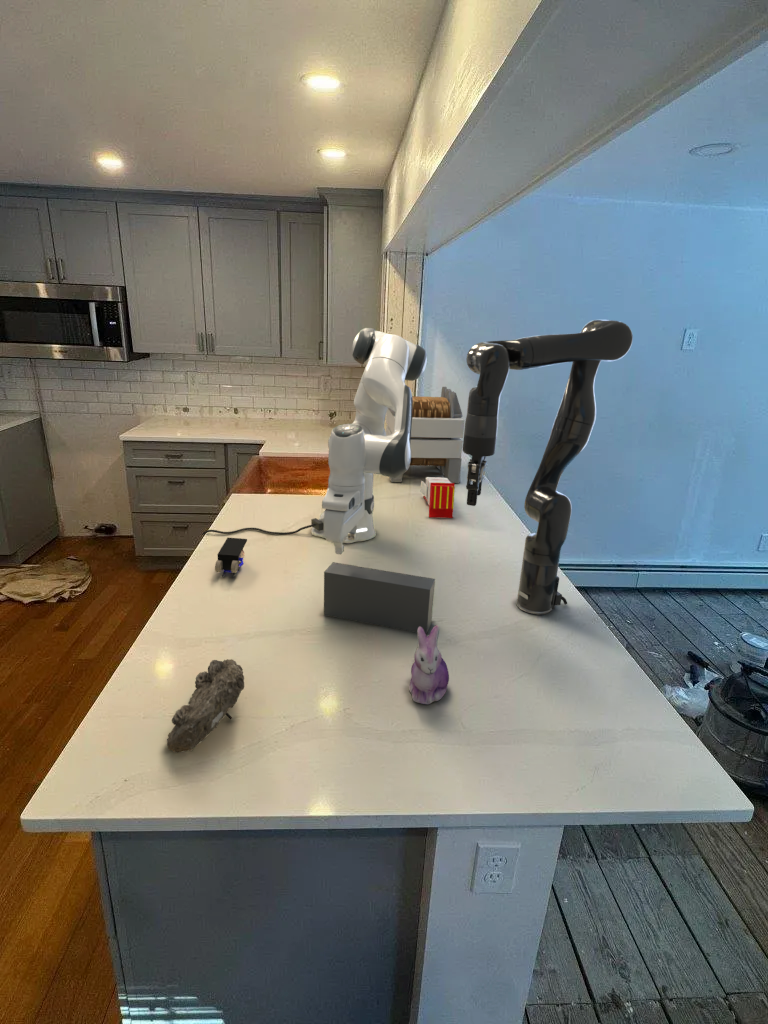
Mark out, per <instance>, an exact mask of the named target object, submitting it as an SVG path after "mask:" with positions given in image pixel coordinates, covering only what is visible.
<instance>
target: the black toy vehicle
mask: <svg viewBox="0 0 768 1024" xmlns="http://www.w3.org/2000/svg"><path fill="white" fill-rule="evenodd" d="M247 542H248V538H240V537H226V539H225V541H224V543H223V544H222V546H221V547H220V549H219V551H218V552H217V560H216V562H215V564H214V572H215V573H221V577H222V578H224V577H225V576H226V574H227V573H230V574H231V573H232V574H231V578H234V577H235V575H236V573H237V572H239V571H240V567H242V566H243V565H244V564H245V562H244V558H245V551H244V547H245V546H246V544H247Z"/></svg>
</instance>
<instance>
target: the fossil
mask: <svg viewBox="0 0 768 1024" xmlns="http://www.w3.org/2000/svg"><path fill="white" fill-rule="evenodd" d="M243 670H244V669H243V667H242V665H240V664H237V662H236V661H235V660H234V659H232V658H231V659H227V658H226V659H224V660H223V661H222V660H217V659H212V660H211V661H210V663H209V665H208V666H207V671H201V672H199V673H198V674H197V675H196V676H195V680H194V684H195V685H194V687H195V689H194V690H193V693H192V694H191V697H190V698H189V700H188V704H184V705H182V706H181V707H180V709H177V710H176V711H175V713H174V715H173V716H172V718H171V723H172V724H173V727H172V730H171V731H170V732H168V734H167V738H166V741H167V742H166V745H167V749H168V750H169V751H173V752H174V753H176V754H178V753H182V752H188V751H189V752H192V751H193V750H195V748H196V747H197V746H199V744H200V743H201V742H203V741H204V740H205V739H206V738H207V737H208V736H209V735H210V734H211V733H212V732H214V730H215V729H217V727H218V726H219V724H220V722H221V721H222V720H223V719H224V718H225V716H226V717H227V719H229V720H233V717H232V715H230V714H229V710H230V709H231V708H234V706H235V704H236V703H237V702H238V699H239V697H240V695H241V693H242V691H243V690H245V689H244V688H245V675H244V671H243Z"/></svg>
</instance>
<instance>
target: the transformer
mask: <svg viewBox="0 0 768 1024" xmlns="http://www.w3.org/2000/svg"><path fill="white" fill-rule="evenodd" d="M440 393H441V394H440V396H415V395H414V396H413V395H412V402H413V404H412V425H411V440H410V450H411V461H410V465H409V467H410V466H411V467H412V466H413V467H415V466H416V467H417V466H418V467H436V468H437V470H438V469H439V473H440V474H441V475H443V476H442V477H443V478H447V479H448V480H449V481H450V482H451V483H456V484H459V483H461V472H462V461H463V460H462V453H463V440H462V439H464V429H465V421H466V419H464V418H463V411H462V408H461V405H460V402H459V398H458V395H457V392H455V391H453V390H452V389H451V388H447V386H442V387H441V392H440ZM385 423H386V428H385V431H386V436H389V435H391V434H393V433H394V423H395V412H394V411H393V410H391V409H390V408H388V409H387V412H386V416H385ZM403 475H404V474H402V475H401V476H399V477H397V478H392V477H388V478H389V480H390V482H391V483H402V482H403Z"/></svg>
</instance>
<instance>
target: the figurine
mask: <svg viewBox="0 0 768 1024" xmlns="http://www.w3.org/2000/svg"><path fill="white" fill-rule="evenodd" d="M417 632H418V633H417ZM417 632H416V633H417V634H416V635H417V648H416V650H415V652H414V656H413V658H414V662H413V663H412V665H411V668H410V669H411V670H410V675H411V677H410V680H409V684H408V685H409V687H408V690H409V693H410V694H411V698H412V701H413V702H414V703H418V704H422V705H430V704H433V702H438V701H440V700H441V699H443V697H444V696H445V694H446V693H447V690H448V685H449V681H450V673H449V668H448V665H447V663H446V661H445V659H444V658H443V657H442V654H441V651H440V649H439V647H438V638H439V632H440V626H439V625H438V624H436V625H434V626H433V627H432V629H431V631H430V632H429V634H428V635H427V634H425V632H424V630H423V628H422V627H420V626H419V627H418V630H417Z"/></svg>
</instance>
